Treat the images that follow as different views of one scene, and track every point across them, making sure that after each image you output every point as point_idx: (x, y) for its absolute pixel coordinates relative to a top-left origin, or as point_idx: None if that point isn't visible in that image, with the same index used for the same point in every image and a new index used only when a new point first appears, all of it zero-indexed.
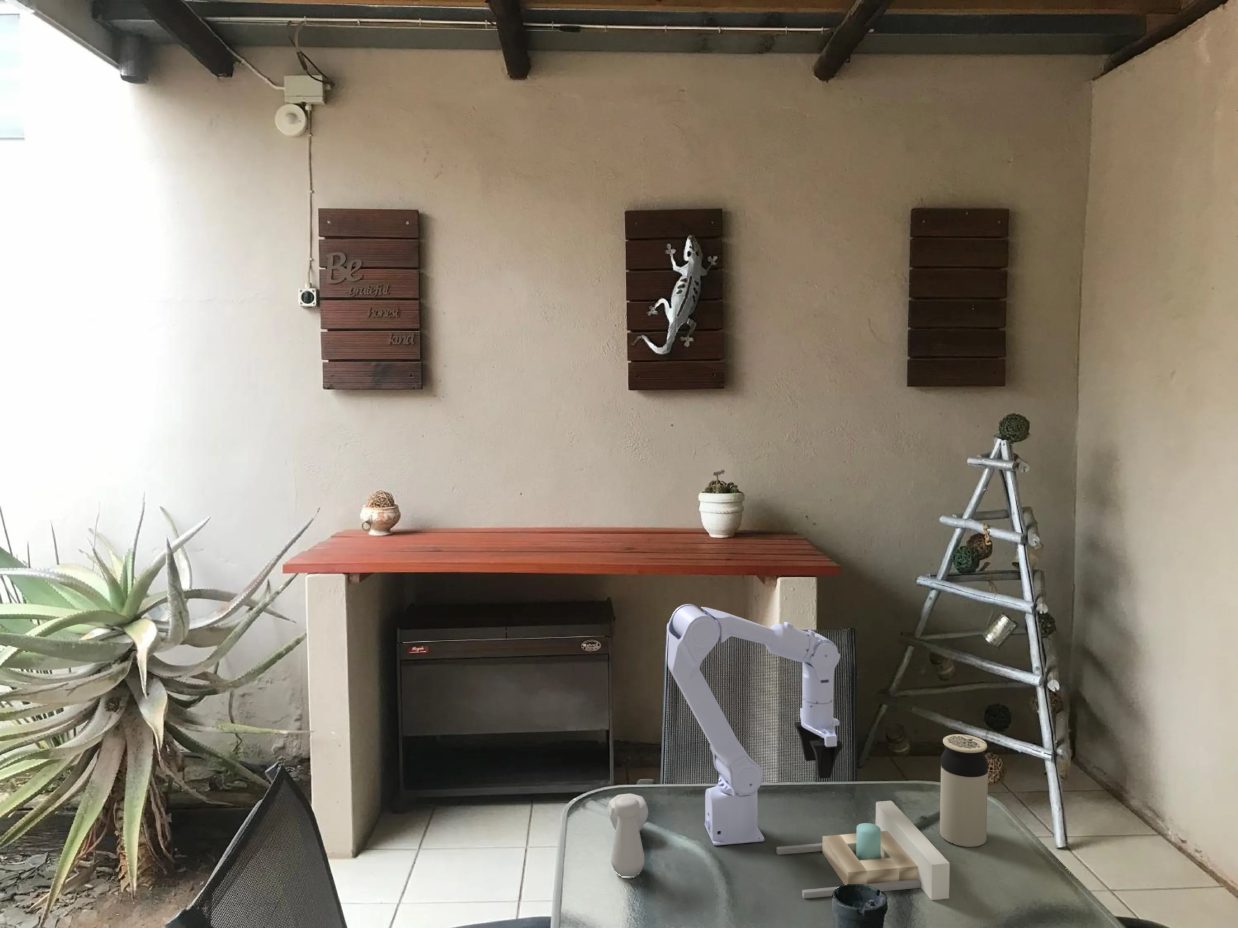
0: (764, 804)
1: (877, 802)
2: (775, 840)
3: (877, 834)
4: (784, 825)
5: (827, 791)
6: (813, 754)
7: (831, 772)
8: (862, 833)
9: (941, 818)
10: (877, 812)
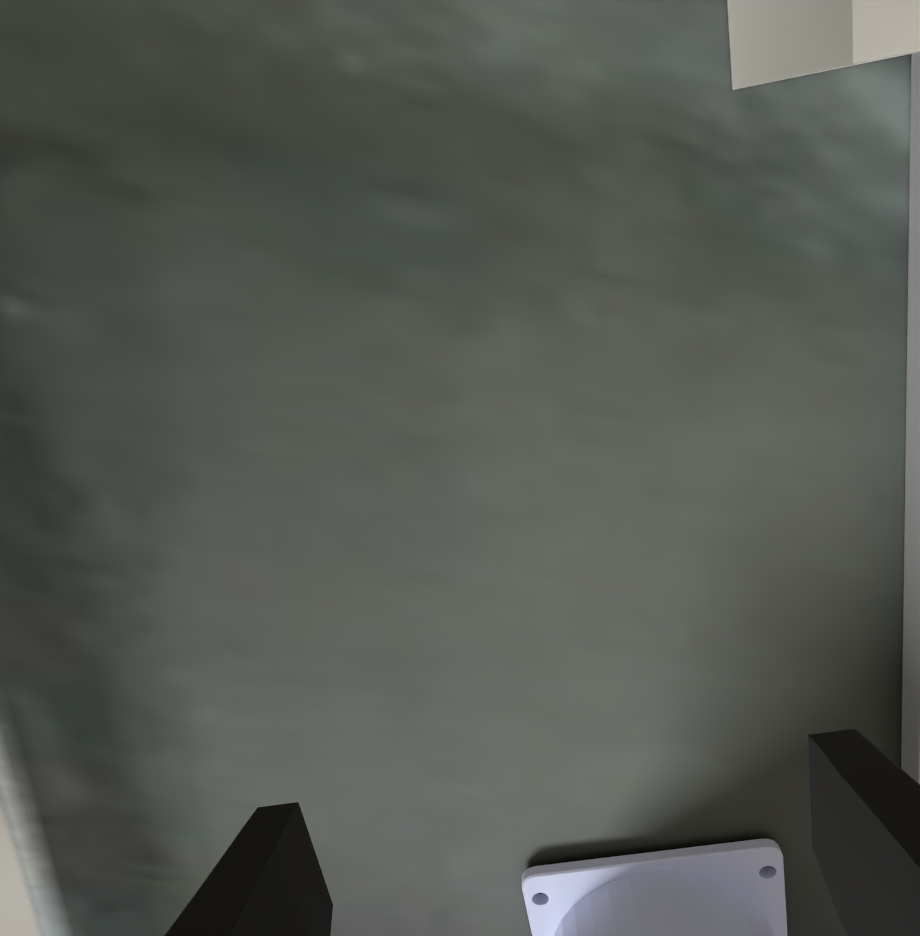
0: (294, 785)
1: (870, 44)
2: (760, 778)
3: None
4: (575, 712)
5: (12, 356)
6: (287, 903)
7: (904, 773)
8: None
9: None
10: (859, 63)
